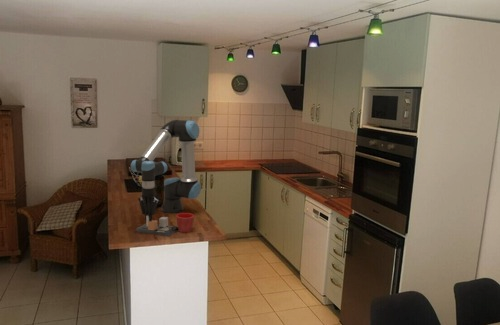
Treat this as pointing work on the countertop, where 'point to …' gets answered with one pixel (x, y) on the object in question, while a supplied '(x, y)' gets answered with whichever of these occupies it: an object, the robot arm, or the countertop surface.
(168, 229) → the console
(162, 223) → the fader
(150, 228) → the fader
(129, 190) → the countertop surface
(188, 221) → the flower pot
